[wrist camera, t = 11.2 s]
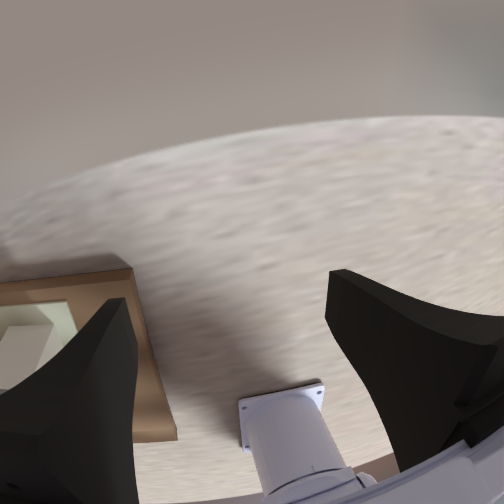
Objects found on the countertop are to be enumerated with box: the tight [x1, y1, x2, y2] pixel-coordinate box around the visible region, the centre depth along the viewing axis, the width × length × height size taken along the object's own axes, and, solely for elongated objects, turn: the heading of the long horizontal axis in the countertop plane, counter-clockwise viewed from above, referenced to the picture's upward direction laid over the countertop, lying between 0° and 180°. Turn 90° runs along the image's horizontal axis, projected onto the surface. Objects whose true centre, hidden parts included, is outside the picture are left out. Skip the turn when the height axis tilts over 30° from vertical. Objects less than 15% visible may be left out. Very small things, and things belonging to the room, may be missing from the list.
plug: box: [0, 324, 64, 395], centre depth 15 cm, size 4×4×7 cm
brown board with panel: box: [0, 268, 178, 443], centre depth 21 cm, size 17×16×2 cm
